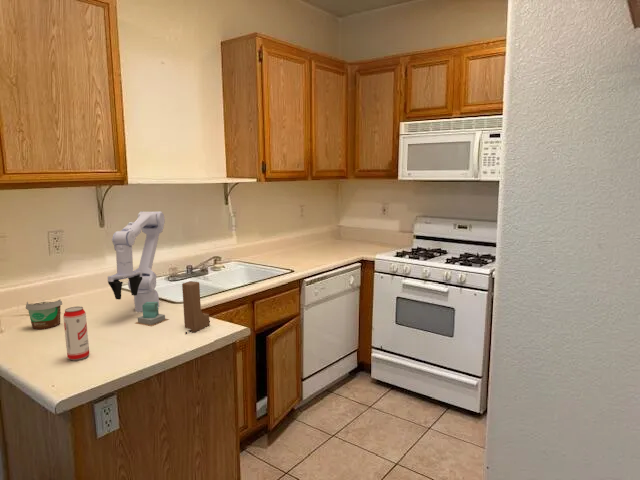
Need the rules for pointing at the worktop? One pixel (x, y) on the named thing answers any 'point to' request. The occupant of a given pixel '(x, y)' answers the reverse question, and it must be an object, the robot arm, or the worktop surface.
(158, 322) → the base slab
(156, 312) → the block
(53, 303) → the food container
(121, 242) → the robot arm
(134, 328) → the worktop surface
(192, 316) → the wooden block
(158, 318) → the top slab
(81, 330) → the beer can
